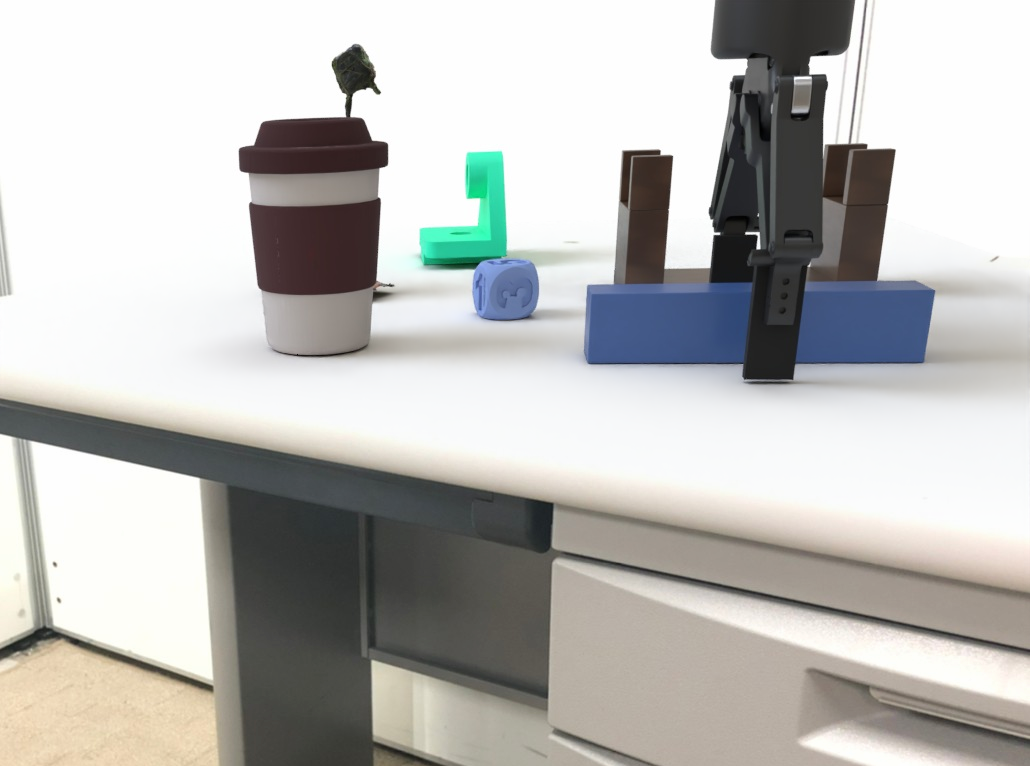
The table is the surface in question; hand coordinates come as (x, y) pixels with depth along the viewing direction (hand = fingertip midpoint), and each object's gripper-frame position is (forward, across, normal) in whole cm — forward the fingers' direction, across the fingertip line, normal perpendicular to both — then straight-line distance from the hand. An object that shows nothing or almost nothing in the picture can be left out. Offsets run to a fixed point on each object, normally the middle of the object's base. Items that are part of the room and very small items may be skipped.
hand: (744, 354), depth 76 cm
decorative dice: (0, -15, -15) cm, 21 cm away
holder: (0, -25, +4) cm, 25 cm away
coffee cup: (+1, -4, -28) cm, 28 cm away
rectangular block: (0, 0, 0) cm, 0 cm away
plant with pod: (+1, -25, -30) cm, 39 cm away
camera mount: (0, -45, -19) cm, 49 cm away
